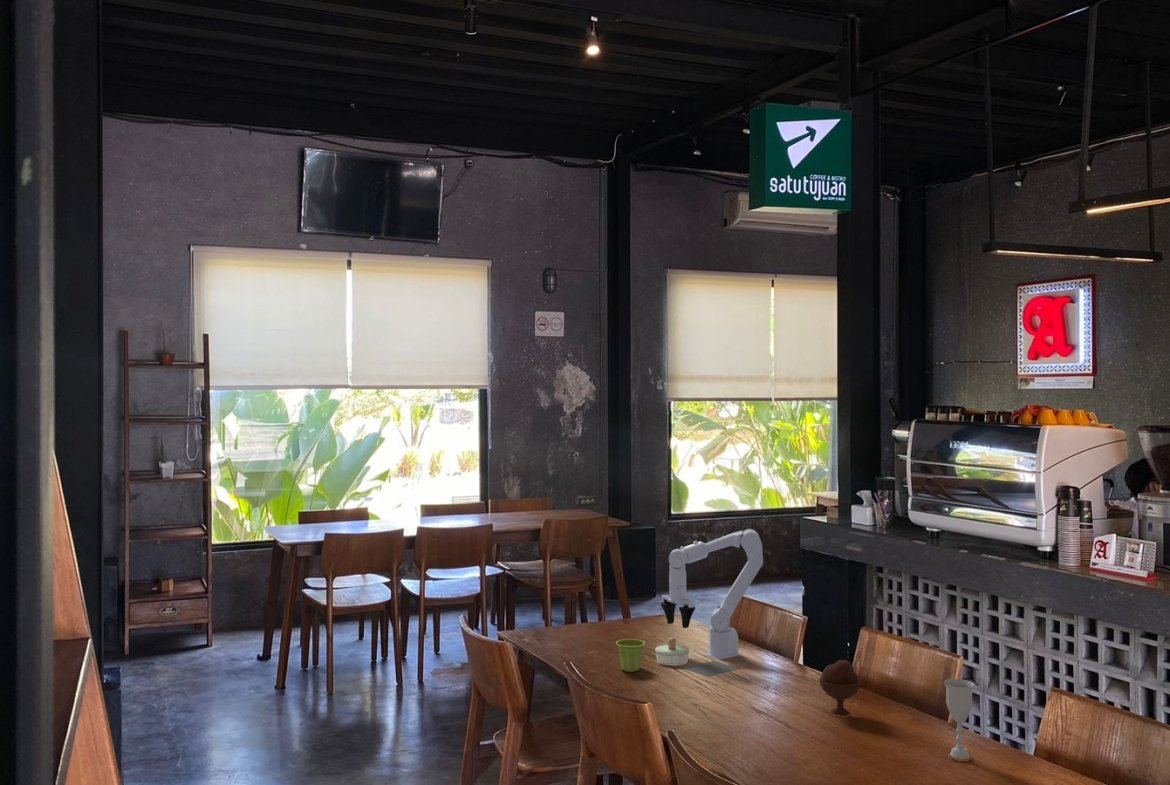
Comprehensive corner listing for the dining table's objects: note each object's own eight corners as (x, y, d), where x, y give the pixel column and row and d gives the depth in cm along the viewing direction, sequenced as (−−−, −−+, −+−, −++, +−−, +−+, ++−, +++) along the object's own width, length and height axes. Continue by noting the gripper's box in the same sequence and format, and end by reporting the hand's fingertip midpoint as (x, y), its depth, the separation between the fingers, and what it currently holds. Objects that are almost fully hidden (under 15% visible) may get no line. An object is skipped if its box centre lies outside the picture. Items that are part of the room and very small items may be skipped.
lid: (675, 645, 333) (674, 632, 333) (695, 652, 324) (695, 639, 324) (648, 650, 327) (648, 637, 327) (669, 657, 318) (668, 644, 318)
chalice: (939, 753, 241) (938, 679, 241) (966, 752, 242) (965, 678, 242) (952, 764, 234) (952, 688, 234) (980, 763, 235) (980, 687, 235)
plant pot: (645, 665, 322) (645, 639, 322) (644, 673, 313) (644, 646, 313) (617, 665, 323) (616, 638, 323) (615, 673, 314) (614, 645, 314)
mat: (713, 662, 326) (713, 660, 326) (740, 669, 316) (740, 668, 316) (681, 669, 318) (681, 668, 318) (708, 677, 308) (708, 676, 308)
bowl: (673, 656, 333) (673, 646, 333) (694, 663, 325) (694, 652, 325) (650, 661, 327) (650, 650, 327) (671, 668, 319) (670, 657, 319)
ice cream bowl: (861, 709, 275) (861, 655, 275) (859, 722, 265) (858, 666, 265) (822, 706, 279) (821, 652, 279) (818, 718, 268) (817, 662, 268)
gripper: (654, 583, 339) (655, 623, 339) (683, 590, 327) (683, 631, 327) (670, 581, 343) (670, 620, 343) (699, 587, 331) (699, 628, 331)
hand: (678, 625), depth 335 cm, fingers open, 7 cm apart
